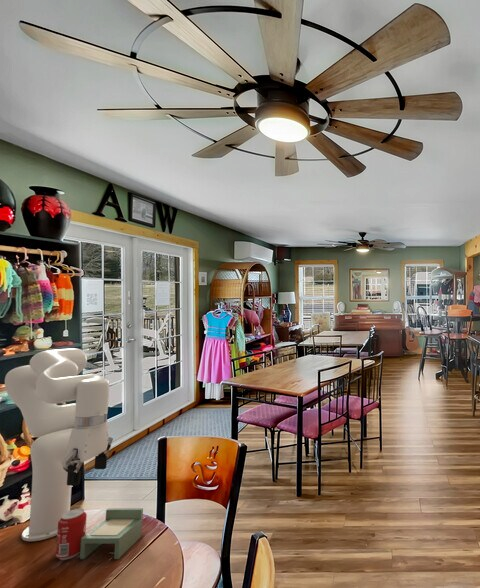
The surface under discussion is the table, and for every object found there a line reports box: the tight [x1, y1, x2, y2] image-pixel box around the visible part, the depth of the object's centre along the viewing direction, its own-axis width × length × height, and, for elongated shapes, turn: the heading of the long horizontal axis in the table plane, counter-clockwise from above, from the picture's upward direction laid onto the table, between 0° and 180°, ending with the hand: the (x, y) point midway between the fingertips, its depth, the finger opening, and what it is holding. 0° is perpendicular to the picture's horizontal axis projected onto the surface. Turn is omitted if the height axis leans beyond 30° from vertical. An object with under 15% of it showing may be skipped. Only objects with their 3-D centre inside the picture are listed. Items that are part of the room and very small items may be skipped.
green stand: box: [79, 507, 144, 560], centre depth 106 cm, size 11×10×9 cm
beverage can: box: [55, 508, 88, 561], centre depth 102 cm, size 6×6×12 cm
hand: (87, 476), depth 104 cm, fingers open, 9 cm apart
